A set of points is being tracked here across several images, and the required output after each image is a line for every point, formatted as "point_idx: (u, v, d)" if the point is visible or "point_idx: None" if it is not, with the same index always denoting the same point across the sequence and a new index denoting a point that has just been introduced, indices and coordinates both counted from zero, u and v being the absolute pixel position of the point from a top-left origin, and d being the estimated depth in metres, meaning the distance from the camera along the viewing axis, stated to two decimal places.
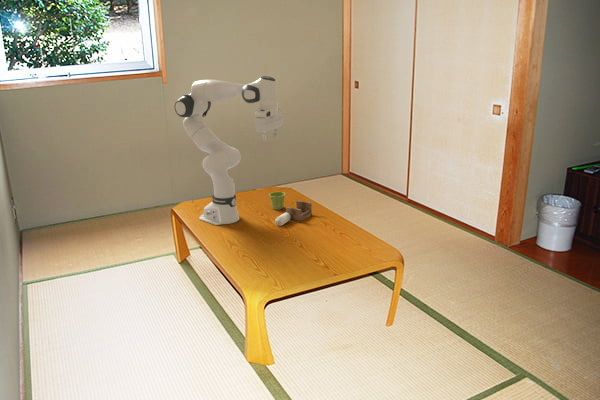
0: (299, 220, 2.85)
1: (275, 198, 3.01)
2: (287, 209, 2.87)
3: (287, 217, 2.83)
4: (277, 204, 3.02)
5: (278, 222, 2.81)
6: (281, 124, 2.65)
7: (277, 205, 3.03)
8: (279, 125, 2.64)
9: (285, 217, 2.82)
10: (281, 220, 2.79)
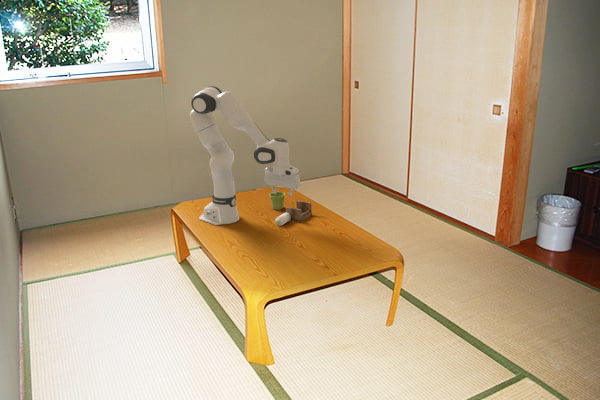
0: (299, 220, 2.85)
1: (275, 198, 3.01)
2: (287, 209, 2.87)
3: (287, 217, 2.83)
4: (277, 204, 3.02)
5: (278, 222, 2.81)
6: None
7: (277, 205, 3.03)
8: None
9: (285, 217, 2.82)
10: (281, 220, 2.79)
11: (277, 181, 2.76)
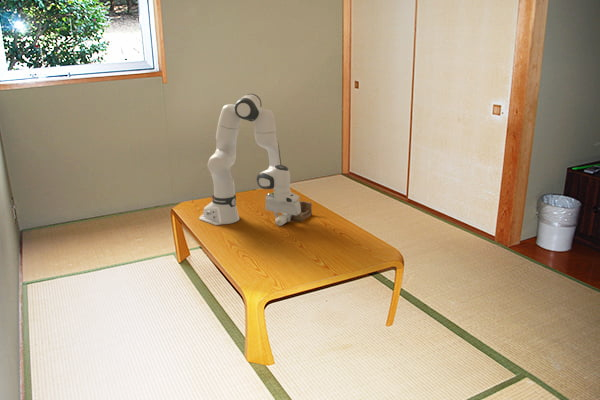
0: (299, 220, 2.85)
1: None
2: None
3: (287, 217, 2.83)
4: None
5: (278, 222, 2.81)
6: None
7: None
8: None
9: (285, 217, 2.82)
10: (281, 220, 2.79)
11: (278, 208, 2.81)
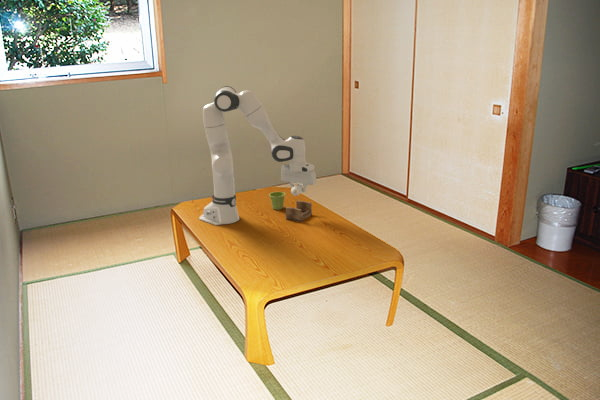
0: (299, 220, 2.85)
1: (275, 198, 3.01)
2: (287, 209, 2.87)
3: (302, 187, 2.87)
4: (277, 204, 3.02)
5: (294, 192, 2.84)
6: None
7: (277, 205, 3.03)
8: None
9: (301, 187, 2.85)
10: (297, 190, 2.83)
11: (293, 178, 2.85)
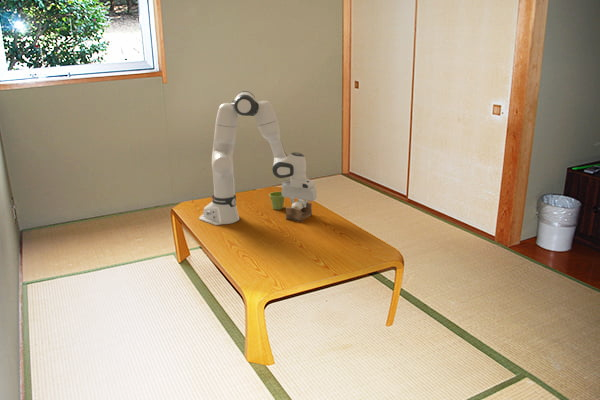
0: (299, 220, 2.85)
1: (275, 198, 3.01)
2: (287, 209, 2.87)
3: (303, 203, 2.90)
4: (277, 204, 3.02)
5: None
6: None
7: (277, 205, 3.03)
8: None
9: (301, 203, 2.89)
10: (297, 206, 2.86)
11: (294, 194, 2.88)
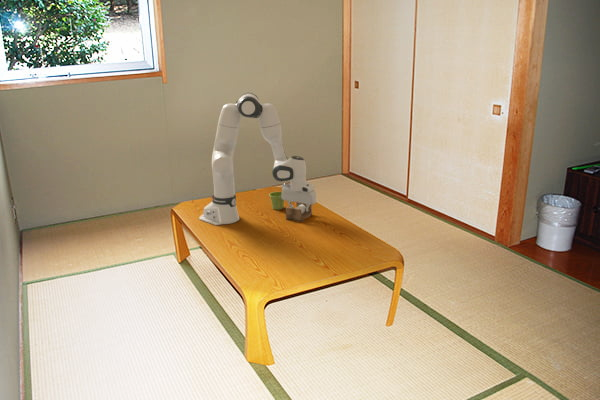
0: (299, 220, 2.85)
1: (275, 198, 3.01)
2: (287, 209, 2.87)
3: (303, 209, 2.91)
4: (277, 204, 3.02)
5: None
6: None
7: (277, 205, 3.03)
8: None
9: (301, 209, 2.90)
10: None
11: (293, 197, 2.88)
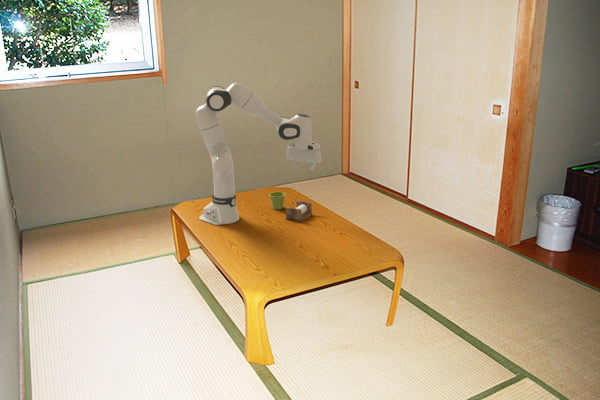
0: (299, 220, 2.85)
1: (275, 198, 3.01)
2: (287, 209, 2.87)
3: (304, 210, 2.91)
4: (277, 204, 3.02)
5: None
6: None
7: (277, 205, 3.03)
8: None
9: (303, 210, 2.89)
10: None
11: (299, 156, 2.84)
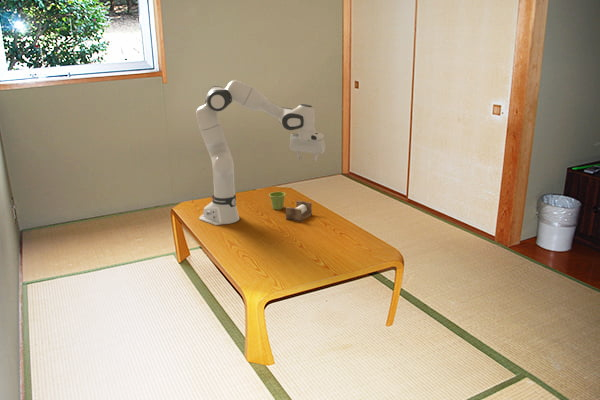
0: (299, 220, 2.85)
1: (275, 198, 3.01)
2: (287, 209, 2.87)
3: (304, 210, 2.91)
4: (277, 204, 3.02)
5: None
6: None
7: (277, 205, 3.03)
8: None
9: (302, 210, 2.89)
10: None
11: (302, 147, 2.84)
